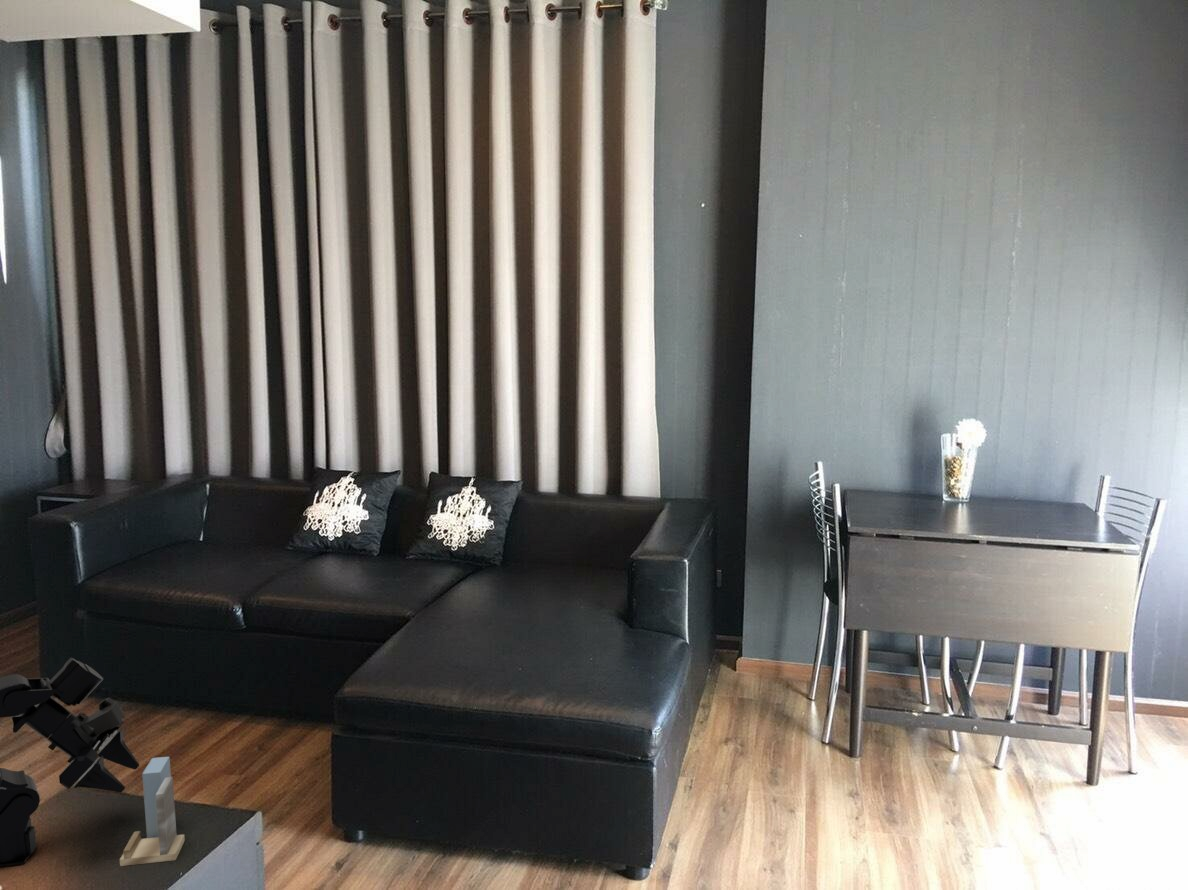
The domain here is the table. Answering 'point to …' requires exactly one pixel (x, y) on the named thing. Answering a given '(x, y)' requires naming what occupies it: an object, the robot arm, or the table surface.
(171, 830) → the book stand
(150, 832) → the book
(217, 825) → the table surface
